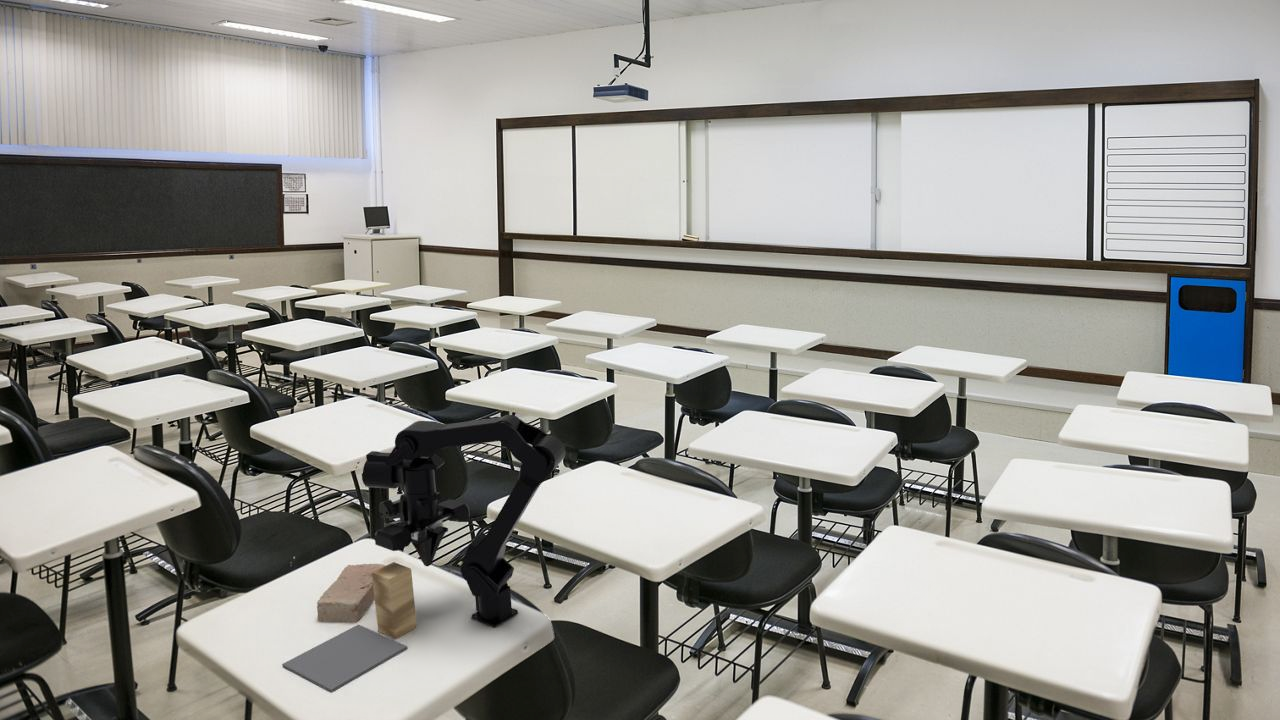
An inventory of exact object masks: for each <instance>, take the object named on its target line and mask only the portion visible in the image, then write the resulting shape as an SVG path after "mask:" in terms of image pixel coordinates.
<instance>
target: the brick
mask: <svg viewBox="0 0 1280 720" xmlns="http://www.w3.org/2000/svg"><path fill="white" fill-rule="evenodd" d="M386 565H387V564H386ZM386 565H385V564H383V563H363V564H358V563H357V564H347V566H345V567H344V568H343V570H342V571H341V573H340V574H339V576H338V577H337V578H336V580H335V581H334V582H332V584H331V585H330V586H329V587H328V588H327V589H326V590H325V591H324V592H323V593H322V595H321V596H320V597H319V599H318V600H317V601H316V604H317V605H316V609H317V612H316V613H317V620H318V622H320V623H344V624H354V623H357V622H359V621H360V619H361V618H363V615H364V614H365V612H366V611H367V610H368V608H370V605H372V603H374V602H375V598H374V588H373V579H372V572H374V571H376V570H378V569H380V568H382V567H384V566H386Z"/></svg>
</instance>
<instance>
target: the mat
mask: <svg viewBox="0 0 1280 720" xmlns="http://www.w3.org/2000/svg"><path fill="white" fill-rule="evenodd" d="M407 649H408V646H407V645H406V644H404V643H401V642H399V641H397V640H396V639H395V640H394V639H393V638H391V637H389V636H388V637H387V635H383V634H382V633H380V632H378V631H377V632H376V631H374V630H372V629H370V628H368V627H365V626H363V625H360V624H358V623H357V624H356V625H355V626H352V627H351V628H349V629H347V630H345V631H343V632H341V633H339V634H338V635H336V636H335V635H334V637H331V638H329V639H328V640H325V641H324V642H322V643H320V644H317V645H316V646H314V647H312V648H311V649H308V650H306V651H304V652H302V653H301V654H299V655H296V656H295V657H293V658H290V660H287V661H286V662H283V663H282V664H281V665H282V667H283V668H284V669H286V670H288V671H290V672H292V673H294V674H296V675H298V676H299V677H302V678H303V679H305V680H307V681H309V682H311V683H313V684H315V685H316V686H319V687H321V688H322V689H324V690H326V691H327V692H330V693H333V692H335V691H337V690H338V689H340V688H342V687H344V686H345V685H347V684H349V683H350V682H352V681H354V680H356V679H357V678H359V677H361V676H362V675H365V674H366V673H368V672H369V671H371V670H373V669H375V668H377V667H378V666H380V665H381V664H384V663H385V662H387V661H388V660H390V659H392V658H393V657H396V656H397V655H399V654H401V653H402V652H404V651H406V650H407Z"/></svg>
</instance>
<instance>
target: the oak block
mask: <svg viewBox="0 0 1280 720" xmlns="http://www.w3.org/2000/svg"><path fill="white" fill-rule="evenodd" d="M372 579H373V588H374V598H375V599H374V605H375V606H374V607H375V614H376V623H377V633H380V634H382V635H383V634H384V636H386V637H387V636H388V637H389V638H391V639H393V640H394V639H395V640H397V639H399V638H400V637H402V636H404V635H406V634H408V633H409V632H411V631H412V630H415V629H416V628H418V625H417V615H416V604H415V595H414V593H415V592H414V586H413V585H414V584H413V574H412V568H411V567H409V566H406V565H402V564H400V563H398V562H395V561H393V562H390V563H388V564H386V566H384V567H382V568H380V569H378V570H376V571H374V572H372Z"/></svg>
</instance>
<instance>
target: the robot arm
mask: <svg viewBox="0 0 1280 720" xmlns="http://www.w3.org/2000/svg"><path fill="white" fill-rule="evenodd" d="M494 442H500V443H502V444H503V445H504V446H505V448H507V449H508V451H509V452H510V453H511V455H512V456H513V457H514V458H515V459H516V460H517V461H519V462H520V463H521V465H520V467H519V472H518V478H517V482H516V483H515V485H514V487H513V489H512V490H511V492H510V493H509V495H508V497H507V498H506V501H505V502H504V504H503V506H502V508H501V509H500V511H499V513H498V515H497V516H496V517H495V520H494V521H493V523H492V524H491V527H490V528H489V530H488V532H487V533H486V534H485V533H484V532H483V531H480V532H479V533H478V534H477V536H476V537H475V538H474V539H473V540H472V541H471V542H469V544H468V546H467V548H466V552H465V554H463V556H462V557H461V558H460V559H459V562H461V564H460V567H459V572H460V574H461V575H462V578H463V579H464V581H465V582H466V583H467V585H468V588H469V590H470V592H471V594H472V596H473V597H474V598H475V600H474V601H475V610H476V611H475V612H474V613H472V614H471V619H473V620H475V621H478V622H480V623H483V624H486V625H488V626H489V627H490V626H491V627H493V628H495V627H497V626H499V625H501V624H503V623H505V622H506V621H507V620H509V619H511V618H512V617H514V616H516V615H517V614H519V611H518V609H515V608H513V607H512V594H511V586H510V585H508V582H509V581H510V579H511V578H512V577H513V575H514V571H515V567H514V566H513V565H512V564H510V563H509V562H508V560H506V558H504V555H505V553H506V548H507V543H508V539H509V538H510V536H511V535H512V533H513V531H514V530H515V528H516V526H517V524H518V522H519V521H520V520H521V518H522V516H523V514H524V513H525V512H526V509H527V508H528V506H529V505H530V503H531V501H532V500H533V497H534V496H535V494H536V492H537V491H538V489H539V487H540V486H541V485H542V484H543V483H544V481H545V480H546V479H547V478H548V477H549V476H550V474H552V472H553V471H554V470H555V469H556V468H557V467H558V466H559V465H560V463H561V462H562V461H563V460H564V459H565V456H566V453H567V451H566V448H565V445H564V443H563V442H562V441H561V439H559V438H558V437H556V436H554V435H550V434H548V433H547V432H545V431H544V430H543V429H541V428H540V427H537V426H534V425H533V424H529V423H527V422H524V421H523V420H522V419H521V418H519V417H518V416H516V415H515V414H505V415H504V416H499V417H493V418H490V417H489V418H483V419H482V418H481V419H475V420H469V421H462V422H454V423H441V422H438V421H436V420H435V421H432V420H418V421H415V422H413V423H411V424H409V425H408V426H407V427H405V428H403V429H402V430H401V431H399V432H398V433H397V434H396V436H395V439H394V447H393V449H392V450H391V451H390V452H380V451H377V450H374V451H373V450H372V451H370V452H368V453H367V454H366V455H365V458H366V460H365V463H364V464H363V468H362V473H361V481H362V483H363V485H364V486H365V487H366V488H379V489H398V488H399V487H400V485H401V484H403V489H404V493H403V494H400V497H399V499H397V500H394V501H392V500H391V499H387V500H383V501H382V502H379V503H378V510H379V511H378V512H379V514H380V515H379V516H380V517H381V519H382V520H385V519H389V521H393V520H396V519H399V521H400V522H403V523H405V522H407V525H406V524H405V525H404V526H399V525H396V524H394V523H391V524H389V525H386V526H384V527H382V528H380V529H377V530H376V532H375V533H374V542H375V543H374V544H375V546H377V547H378V546H379V547H381V548H383V549H387V550H389V551H392V552H397V551H400V550H402V549H405V548H407V547H409V546H410V544H412V545H413V548H415V551H416V552H417V555H418V556H419V558H420V560H421V562H422V564H423V565H424V567H430V566H432V563H433V561H434V559H435V556H436V554H437V551H438V548H439V546H440V544H441V543H442V540H443V538H444V536H445V534H446V533H447V532H448V531H449V528H448V527H446V526H444V524H443V521H444V520H447V519H449V518H451V517H453V518H454V520H455V521H456V522H459V523H461V522H463V521H465V520H467V519H469V518H470V515H471V514H470V508H469V506H468V505H467V504H466V503H465V502H463V501H462V502H461V501H459V500H454V499H451V498H449V499H447V500H444V501H442V502H440V503H438V500H440V499H441V498H442V494H441V492H439V491H437V487H436V486H437V485H436V476H435V471H436V470H438V469H439V468H441V466H443V465H444V464H445V463H446V462H445V460H444V459H443V458H441V457H440V456H438V455H437V454H436V452H437V451H440V450H443V449H447V448H456V447H463V446H471V445H478V444H479V445H480V444H488V443H494ZM428 455H429V456H428Z"/></svg>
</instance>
